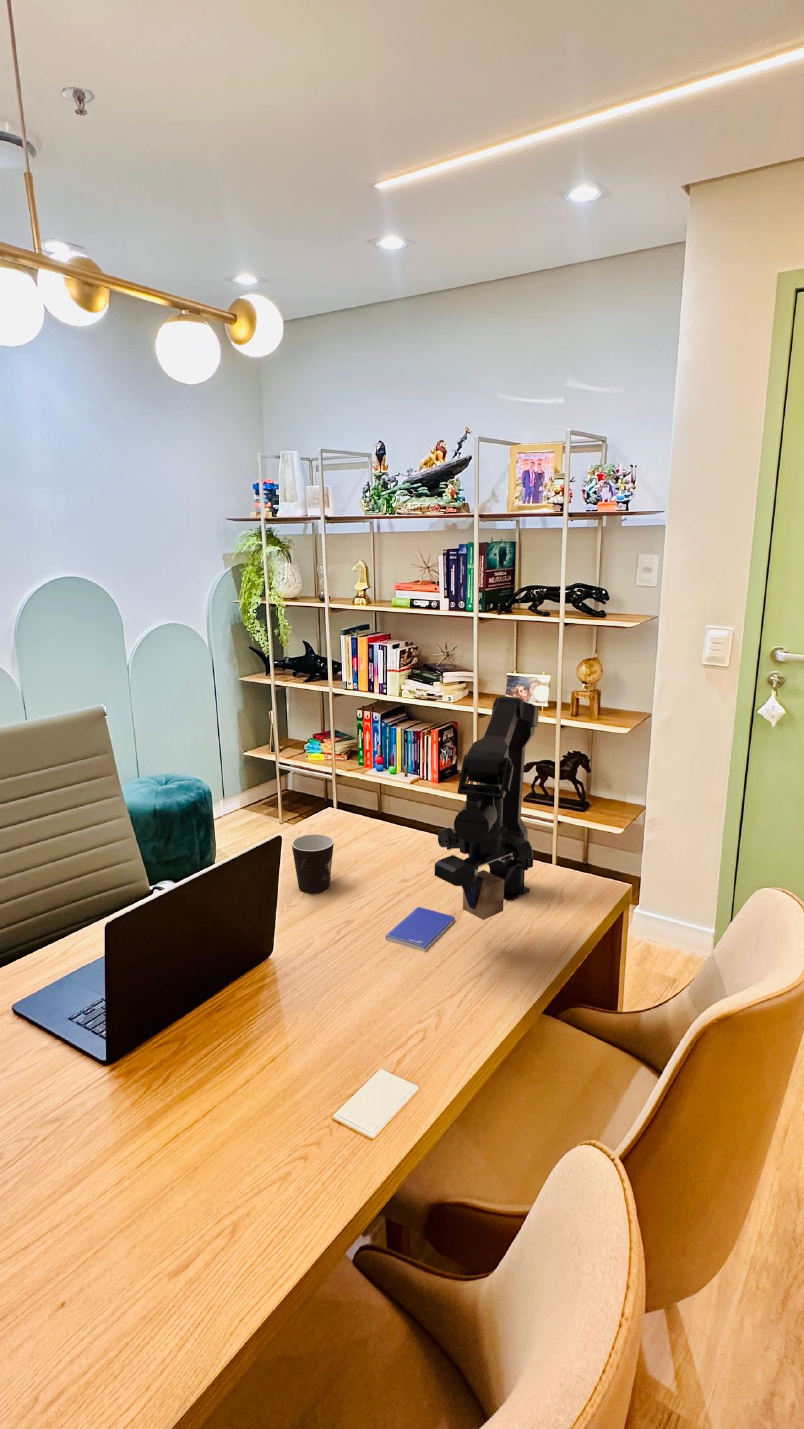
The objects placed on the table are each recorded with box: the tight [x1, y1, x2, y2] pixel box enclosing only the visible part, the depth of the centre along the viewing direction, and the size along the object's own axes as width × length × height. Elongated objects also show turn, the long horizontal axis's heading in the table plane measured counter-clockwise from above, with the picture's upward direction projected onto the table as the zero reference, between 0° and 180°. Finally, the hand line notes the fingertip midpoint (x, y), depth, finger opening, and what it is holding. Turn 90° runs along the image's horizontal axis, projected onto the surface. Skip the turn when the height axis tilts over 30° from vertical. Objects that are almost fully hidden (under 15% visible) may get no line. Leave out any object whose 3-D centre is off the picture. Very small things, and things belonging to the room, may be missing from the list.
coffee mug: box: [291, 833, 335, 895], centre depth 159 cm, size 12×9×10 cm
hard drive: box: [384, 906, 456, 953], centre depth 145 cm, size 2×8×12 cm
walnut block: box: [462, 869, 505, 921], centre depth 136 cm, size 5×5×6 cm
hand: (483, 903), depth 136 cm, fingers closed on walnut block, 5 cm apart
